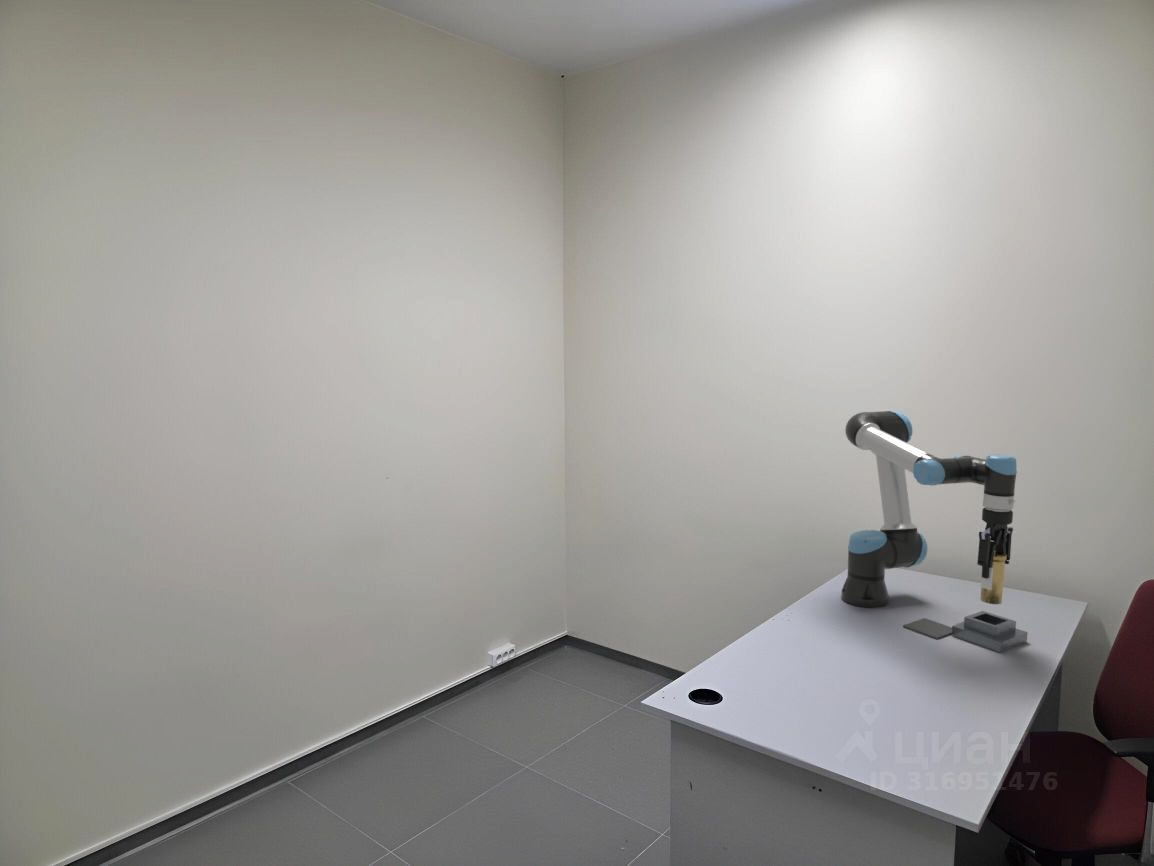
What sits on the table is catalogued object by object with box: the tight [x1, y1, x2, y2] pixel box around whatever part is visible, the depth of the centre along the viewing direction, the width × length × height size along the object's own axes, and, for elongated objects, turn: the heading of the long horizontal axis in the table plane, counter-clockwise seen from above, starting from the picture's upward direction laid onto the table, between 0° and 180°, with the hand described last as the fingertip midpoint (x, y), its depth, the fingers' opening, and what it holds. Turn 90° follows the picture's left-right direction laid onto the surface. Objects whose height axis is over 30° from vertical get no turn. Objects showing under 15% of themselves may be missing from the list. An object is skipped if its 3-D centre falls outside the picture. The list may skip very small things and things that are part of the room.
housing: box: [951, 610, 1028, 654], centre depth 203 cm, size 14×14×6 cm
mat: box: [902, 617, 952, 640], centre depth 210 cm, size 11×11×1 cm
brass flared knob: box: [979, 552, 1007, 605], centre depth 201 cm, size 6×6×14 cm
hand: (992, 586), depth 201 cm, fingers closed on brass flared knob, 5 cm apart
